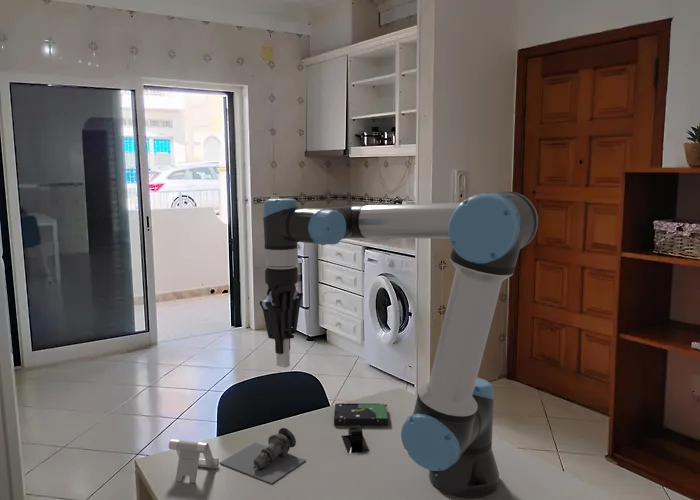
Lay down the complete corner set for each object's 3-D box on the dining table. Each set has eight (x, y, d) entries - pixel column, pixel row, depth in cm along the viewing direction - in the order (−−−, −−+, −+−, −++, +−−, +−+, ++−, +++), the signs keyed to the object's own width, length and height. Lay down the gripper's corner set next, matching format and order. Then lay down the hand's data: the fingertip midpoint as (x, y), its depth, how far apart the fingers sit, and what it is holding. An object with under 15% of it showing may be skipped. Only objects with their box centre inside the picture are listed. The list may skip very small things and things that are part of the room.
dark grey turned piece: (286, 423, 136) (251, 454, 127) (300, 443, 135) (267, 475, 126) (274, 431, 140) (239, 461, 130) (288, 451, 139) (255, 482, 130)
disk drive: (333, 428, 153) (389, 427, 153) (333, 418, 153) (389, 417, 152) (335, 412, 163) (386, 411, 163) (334, 403, 163) (386, 402, 163)
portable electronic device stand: (219, 466, 132) (217, 432, 131) (203, 484, 125) (201, 448, 123) (185, 462, 134) (183, 428, 133) (167, 480, 126) (165, 444, 125)
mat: (305, 461, 134) (305, 460, 134) (271, 484, 124) (271, 483, 124) (255, 443, 143) (255, 442, 143) (219, 463, 133) (219, 462, 133)
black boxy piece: (337, 435, 149) (337, 418, 148) (365, 433, 150) (365, 416, 149) (345, 459, 137) (345, 440, 136) (375, 456, 138) (375, 438, 137)
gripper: (286, 261, 138) (288, 355, 141) (249, 268, 127) (252, 370, 130) (311, 263, 134) (312, 360, 137) (275, 272, 123) (277, 377, 126)
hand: (283, 365), depth 134 cm, fingers closed
